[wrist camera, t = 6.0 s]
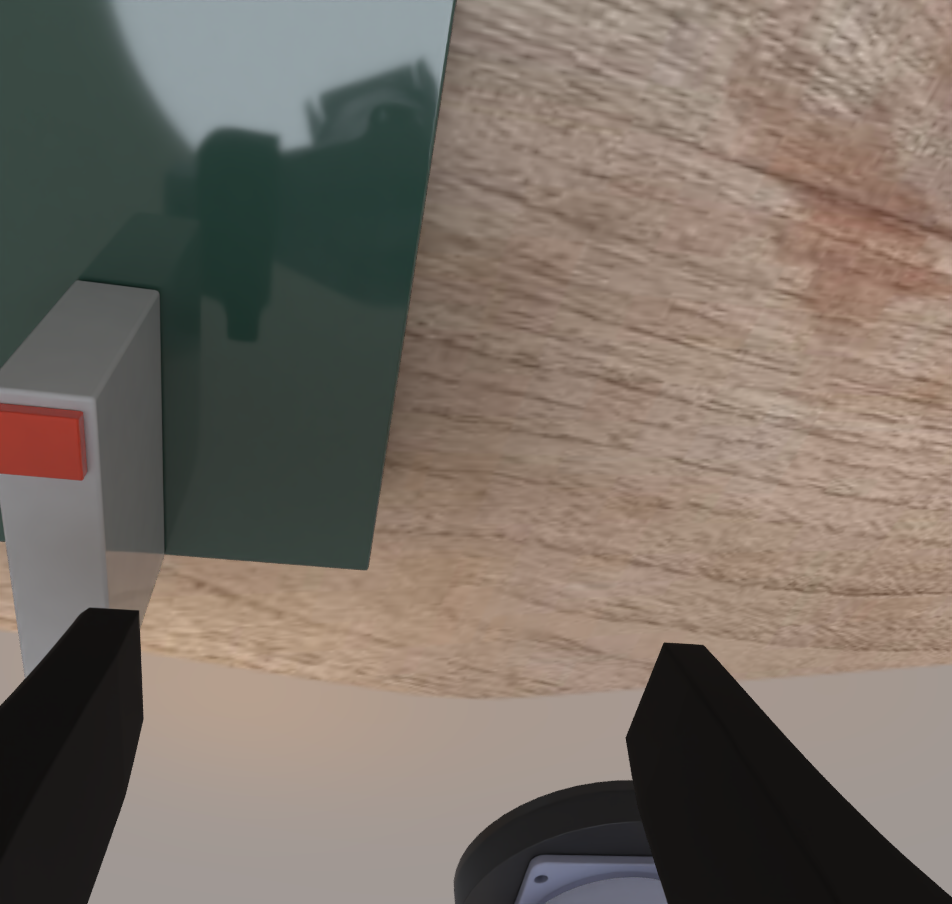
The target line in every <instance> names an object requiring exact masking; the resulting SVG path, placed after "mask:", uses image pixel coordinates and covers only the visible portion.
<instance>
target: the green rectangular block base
mask: <svg viewBox="0 0 952 904" xmlns="http://www.w3.org/2000/svg"><path fill="white" fill-rule="evenodd" d="M456 2H457V0H0V368H1V367H2V366H3V365H4V363H5V362H6V361H7V360H8V359H9V358H10V356H11V355H12V354H13V353H14V352H15V351H16V349H17V348H18V347H19V346H20V345H21V344H22V342H23V341H24V340H25V339H26V338H27V337H28V335H29V334H30V333H31V332H32V331H33V330H34V328H35V327H36V326H37V325H38V324H39V323H40V321H41V320H42V319H43V318H44V317H45V315H46V314H47V313H48V312H49V311H50V310H51V308H52V307H53V306H54V305H55V304H56V303H57V301H58V300H59V299H60V298H61V297H62V296H63V294H64V293H65V292H66V291H67V290H68V289H69V287H70V286H71V285H72V284H73V283H74V282H75V281H78V280H79V281H87V282H95V283H103V284H111V285H119V286H127V287H135V288H143V289H151V290H157V291H158V292H159V294H160V345H161V399H162V453H163V507H164V555H177V556H189V557H202V558H215V559H227V560H240V561H253V562H265V563H278V564H291V565H303V566H316V567H329V568H341V569H354V570H367V569H368V568H369V562H370V555H371V549H372V542H373V536H374V530H375V523H376V517H377V510H378V504H379V497H380V491H381V485H382V478H383V472H384V465H385V459H386V452H387V446H388V439H389V433H390V427H391V420H392V414H393V407H394V401H395V394H396V388H397V382H398V375H399V369H400V362H401V356H402V349H403V343H404V337H405V330H406V324H407V317H408V311H409V304H410V298H411V291H412V285H413V279H414V272H415V266H416V259H417V253H418V246H419V240H420V234H421V227H422V221H423V214H424V208H425V201H426V195H427V188H428V182H429V176H430V169H431V163H432V156H433V150H434V143H435V137H436V131H437V124H438V118H439V111H440V105H441V98H442V92H443V86H444V79H445V73H446V66H447V60H448V53H449V47H450V40H451V34H452V28H453V21H454V15H455V8H456ZM0 542H5V535H4V528H3V521H2V514H1V507H0Z"/></svg>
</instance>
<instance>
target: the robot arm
mask: <svg viewBox="0 0 952 904" xmlns="http://www.w3.org/2000/svg"><path fill="white" fill-rule="evenodd" d="M142 698H143V695H142V671H141V644H140V619H139V610H125V609H108V608H92V607H89V608H88V609H86V610H85V611H83V612H82V613H80V615H79V616H78V617H77V618H76V620H75V621H74V622H73V623H72V624H71V626H70V627H69V628H68V629H67V631H66V632H65V633H64V634H63V635H62V637H61V638H60V639H59V640H58V641H57V643H56V644H55V645H54V646H53V647H52V649H51V650H50V651H49V652H48V653H47V654H46V656H45V657H44V658H43V659H42V660H41V661H40V663H39V664H38V665H37V666H36V667H35V668H34V669H33V670H32V672H31V673H30V674H29V675H28V676H27V677H26V678H25V679H24V681H23V682H22V683H21V684H20V685H19V686H18V687H17V689H16V690H15V691H14V692H13V693H12V694H11V695H10V696H9V697H8V698H7V699H6V700H5V701H4V703H3V704H1V706H0V904H87V903H88V900H89V897H90V895H91V892H92V889H93V886H94V884H95V881H96V878H97V875H98V872H99V870H100V867H101V864H102V861H103V858H104V856H105V853H106V850H107V847H108V844H109V841H110V839H111V836H112V833H113V830H114V827H115V824H116V821H117V819H118V816H119V813H120V810H121V807H122V804H123V801H124V798H125V795H126V791H127V787H128V783H129V779H130V775H131V770H132V766H133V762H134V758H135V754H136V749H137V745H138V740H139V736H140V731H141V727H142V723H143V699H142ZM626 743H627V749H628V755H629V761H630V767H631V773H632V779H633V784H634V789H635V794H636V799H637V805H638V809H639V812H640V816H641V819H642V823H643V826H644V829H645V833H646V836H647V839H648V842H649V846H650V849H651V852H652V855H653V856H612V855H554V854H543V855H538V856H536V857H534V858H533V859H532V860H531V861H530V863H529V866H528V868H527V871H526V874H525V877H524V879H523V882H522V885H521V887H520V890H519V893H518V895H517V898H516V901H515V904H952V897H951V896H950V895H949V894H947V893H946V892H945V891H944V890H943V889H942V888H941V887H939V886H938V885H937V884H936V883H935V882H934V881H932V880H931V879H930V878H929V877H928V876H927V875H926V874H925V873H923V872H922V871H921V870H920V869H919V868H918V867H917V866H915V865H914V864H913V863H912V862H911V861H910V860H909V859H907V858H906V857H905V856H904V855H903V854H902V853H901V852H900V851H899V850H898V849H897V848H895V847H894V846H893V845H892V844H891V843H890V842H889V841H888V840H887V839H886V838H885V837H883V835H881V834H880V833H879V832H878V831H877V830H876V829H875V828H874V827H873V826H872V825H871V824H870V823H869V822H868V821H867V820H866V819H865V818H864V817H863V816H862V815H861V814H860V813H859V812H858V811H857V810H856V809H855V808H854V807H853V806H852V805H851V804H850V803H849V802H848V801H847V800H846V799H845V798H844V797H843V796H842V795H841V794H840V793H839V792H838V791H837V790H836V789H835V788H834V787H833V786H832V785H831V784H830V783H829V782H828V781H827V780H826V779H825V778H824V777H823V776H822V775H821V774H820V773H819V771H818V770H817V769H816V768H815V767H814V766H813V765H812V764H811V763H810V762H809V761H808V760H807V759H806V758H805V757H804V756H803V754H802V753H801V752H800V751H799V750H798V749H797V748H796V747H795V746H794V745H793V744H792V743H791V742H790V740H789V739H788V738H787V737H786V736H785V735H784V734H783V733H782V732H781V731H780V729H779V728H778V727H777V726H776V725H775V724H774V723H773V722H772V721H771V720H770V718H769V717H768V716H767V715H766V714H765V713H764V712H763V710H761V709H760V707H759V706H758V705H757V704H756V703H755V702H754V700H753V699H752V698H751V697H750V696H749V695H748V694H747V693H746V691H745V690H744V689H743V688H742V687H741V686H740V685H739V684H738V682H737V681H736V680H735V679H734V678H733V677H732V676H731V675H730V673H729V672H728V671H727V670H726V669H725V668H724V667H723V666H722V665H721V663H720V662H719V661H718V660H717V659H716V658H715V657H714V656H713V655H712V654H711V653H710V652H709V650H708V649H707V648H706V647H705V646H704V645H695V644H679V643H663V646H662V648H661V651H660V653H659V656H658V658H657V661H656V663H655V666H654V668H653V671H652V673H651V676H650V678H649V681H648V683H647V686H646V688H645V691H644V693H643V696H642V698H641V701H640V704H639V706H638V708H637V711H636V713H635V716H634V718H633V721H632V723H631V726H630V728H629V731H628V733H627V736H626Z"/></svg>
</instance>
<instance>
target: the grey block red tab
mask: <svg viewBox="0 0 952 904" xmlns="http://www.w3.org/2000/svg"><path fill="white" fill-rule="evenodd" d="M0 507H1V514H2V521H3V528H4V535H5V542H6V549H7V556H8V563H9V570H10V577H11V584H12V591H13V598H14V605H15V612H16V619H17V626H18V633H19V639H20V647H21V654H22V661H23V668H24V675H25V678H26V677H27V676H28V675H29V674H30V673H31V672H32V670H33V669H34V668H35V667H36V666H37V665H38V664H39V663H40V661H41V660H42V659H43V658H44V657H45V656H46V654H47V653H48V652H49V651H50V650H51V649H52V647H53V646H54V645H55V644H56V643H57V641H58V640H59V639H60V638H61V637H62V635H63V634H64V633H65V632H66V631H67V629H68V628H69V627H70V626H71V624H72V623H73V622H74V621H75V620H76V618H77V617H78V616H79V615H80V613H82V612H83V611H85V610H86V609H88V608H89V607H92V608H108V609H125V610H139V619H140V627H141V624H142V622H143V619H144V616H145V613H146V610H147V607H148V604H149V601H150V598H151V595H152V592H153V589H154V586H155V583H156V580H157V577H158V574H159V571H160V568H161V565H162V562H163V559H164V507H163V453H162V399H161V345H160V294H159V292H158V291H157V290H151V289H143V288H135V287H127V286H119V285H111V284H103V283H95V282H87V281H79V280H78V281H75V282H74V283H73V284H72V285H71V286H70V287H69V289H68V290H67V291H66V292H65V293H64V294H63V296H62V297H61V298H60V299H59V300H58V301H57V303H56V304H55V305H54V306H53V307H52V308H51V310H50V311H49V312H48V313H47V314H46V315H45V317H44V318H43V319H42V320H41V321H40V323H39V324H38V325H37V326H36V327H35V328H34V330H33V331H32V332H31V333H30V334H29V335H28V337H27V338H26V339H25V340H24V341H23V342H22V344H21V345H20V346H19V347H18V348H17V349H16V351H15V352H14V353H13V354H12V355H11V356H10V358H9V359H8V360H7V361H6V362H5V363H4V365H3V366H2V367H1V368H0Z"/></svg>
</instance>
